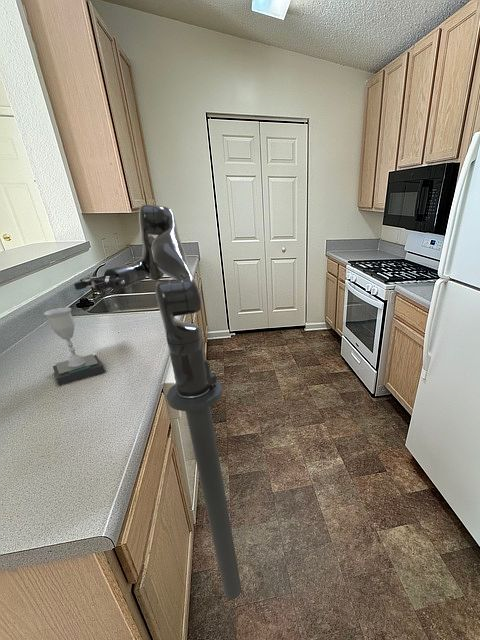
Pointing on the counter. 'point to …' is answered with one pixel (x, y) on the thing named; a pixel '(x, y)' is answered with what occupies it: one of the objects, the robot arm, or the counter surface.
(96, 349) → the counter surface
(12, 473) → the counter surface
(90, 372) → the scale
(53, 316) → the chalice
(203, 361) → the robot arm
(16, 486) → the counter surface
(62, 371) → the pan
